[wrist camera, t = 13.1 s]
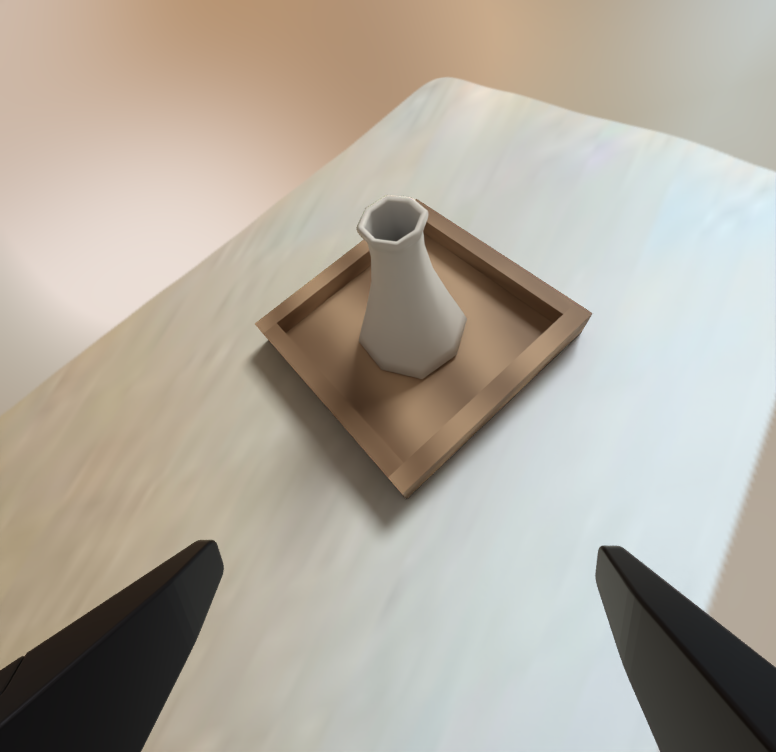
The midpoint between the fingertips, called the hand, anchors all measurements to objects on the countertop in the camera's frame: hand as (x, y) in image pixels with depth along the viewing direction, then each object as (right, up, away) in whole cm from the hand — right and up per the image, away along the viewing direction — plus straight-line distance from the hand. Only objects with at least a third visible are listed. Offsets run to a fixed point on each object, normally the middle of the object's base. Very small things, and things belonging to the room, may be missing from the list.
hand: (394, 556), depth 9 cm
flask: (+2, +7, +18) cm, 19 cm away
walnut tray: (+2, +7, +18) cm, 20 cm away
